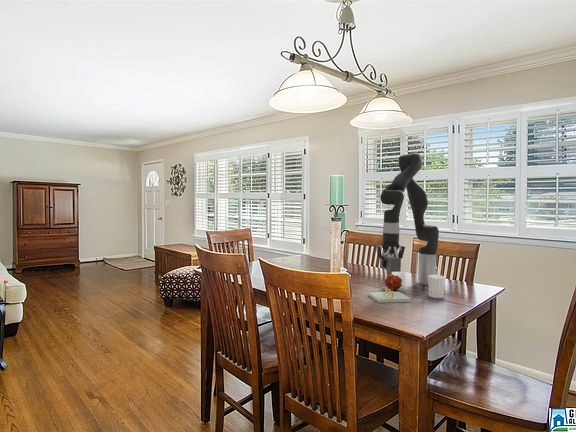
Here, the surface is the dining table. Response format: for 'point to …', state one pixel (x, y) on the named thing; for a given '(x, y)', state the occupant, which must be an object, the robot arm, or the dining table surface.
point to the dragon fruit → (393, 282)
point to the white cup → (436, 286)
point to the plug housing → (392, 264)
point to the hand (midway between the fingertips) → (389, 267)
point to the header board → (389, 296)
